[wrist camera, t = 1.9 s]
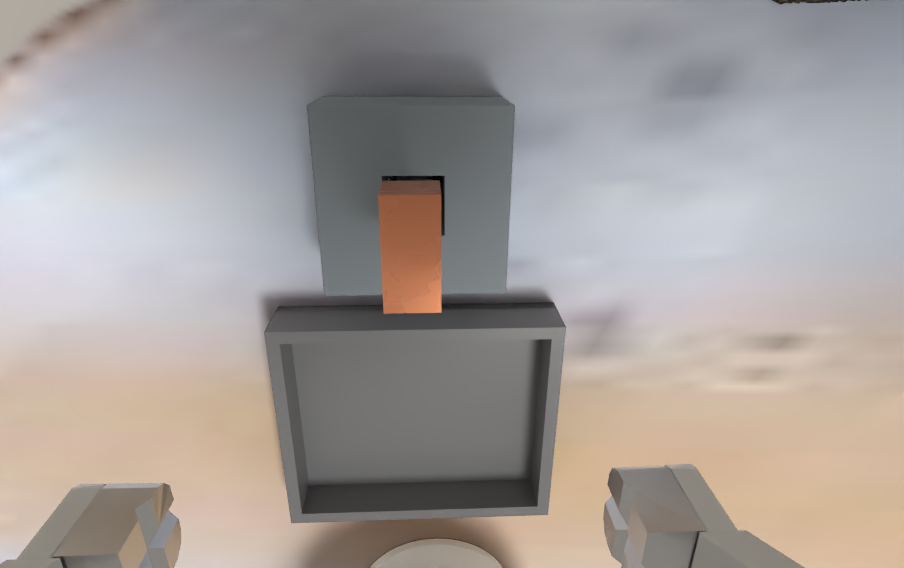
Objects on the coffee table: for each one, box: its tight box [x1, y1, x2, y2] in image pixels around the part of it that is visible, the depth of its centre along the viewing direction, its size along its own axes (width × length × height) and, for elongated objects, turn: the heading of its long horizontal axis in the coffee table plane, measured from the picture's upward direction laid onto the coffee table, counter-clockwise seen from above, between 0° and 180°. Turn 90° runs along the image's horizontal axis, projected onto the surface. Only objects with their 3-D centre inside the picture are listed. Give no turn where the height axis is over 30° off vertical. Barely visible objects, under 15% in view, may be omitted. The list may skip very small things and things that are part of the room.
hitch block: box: [307, 96, 515, 296], centre depth 32 cm, size 10×10×5 cm
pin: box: [378, 176, 441, 314], centre depth 28 cm, size 2×5×12 cm, turn 0°
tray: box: [264, 303, 566, 523], centre depth 38 cm, size 18×15×4 cm
